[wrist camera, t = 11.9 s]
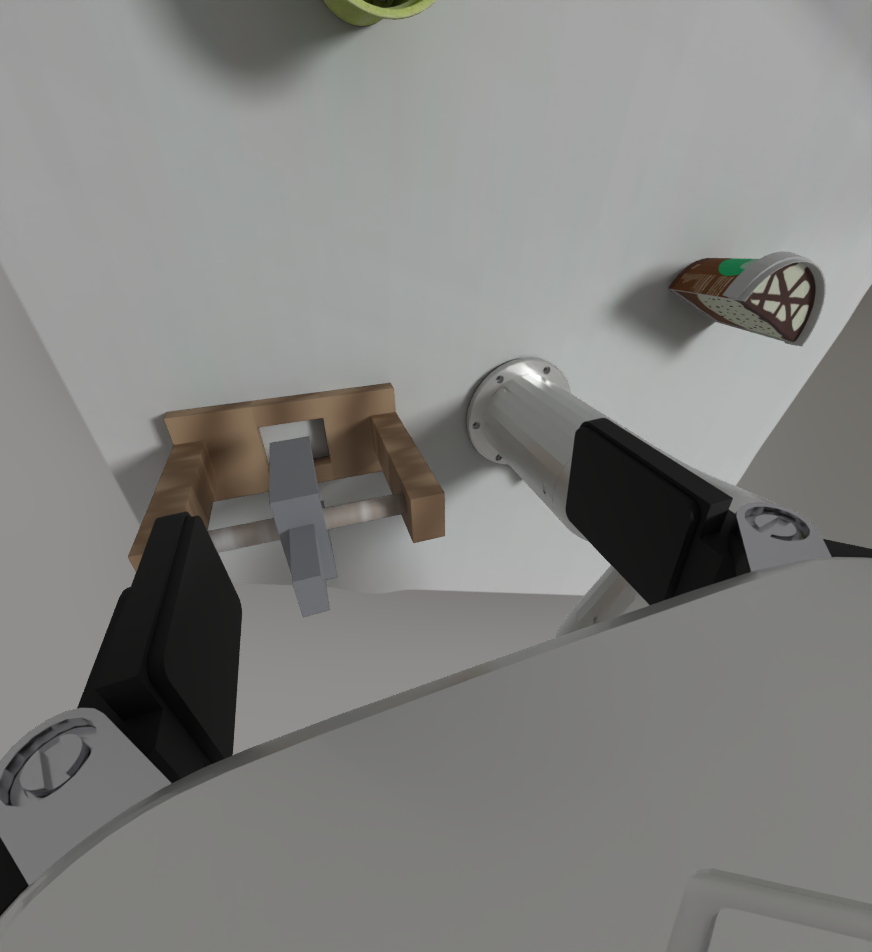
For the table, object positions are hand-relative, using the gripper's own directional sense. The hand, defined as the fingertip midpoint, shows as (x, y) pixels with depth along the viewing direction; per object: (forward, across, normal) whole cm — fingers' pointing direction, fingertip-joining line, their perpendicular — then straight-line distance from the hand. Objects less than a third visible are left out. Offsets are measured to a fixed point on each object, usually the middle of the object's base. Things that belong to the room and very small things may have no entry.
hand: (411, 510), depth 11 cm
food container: (+32, -43, +4) cm, 54 cm away
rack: (+32, +4, +13) cm, 35 cm away
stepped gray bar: (+24, +4, +13) cm, 28 cm away
